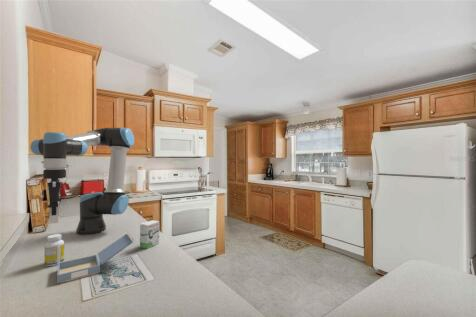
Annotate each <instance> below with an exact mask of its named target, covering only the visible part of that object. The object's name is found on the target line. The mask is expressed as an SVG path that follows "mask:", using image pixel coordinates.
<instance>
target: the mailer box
mask: <svg viewBox="0 0 476 317" xmlns="http://www.w3.org/2000/svg"><path fill="white" fill-rule="evenodd" d="M100 273H101V262H100V259H99V256H98V254H93V255H89V256H85V257H80V258H75V259H70V260H64V261H63V262H60V263H58V264H57V273H56V275H57V277H56V279H57V280H56V282H57V283H56V284H57V285H58V284H63V283H66V282H70V281H73V280H78V279H81V278H85V277H89V276H93V275H96V274H100Z"/></svg>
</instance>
